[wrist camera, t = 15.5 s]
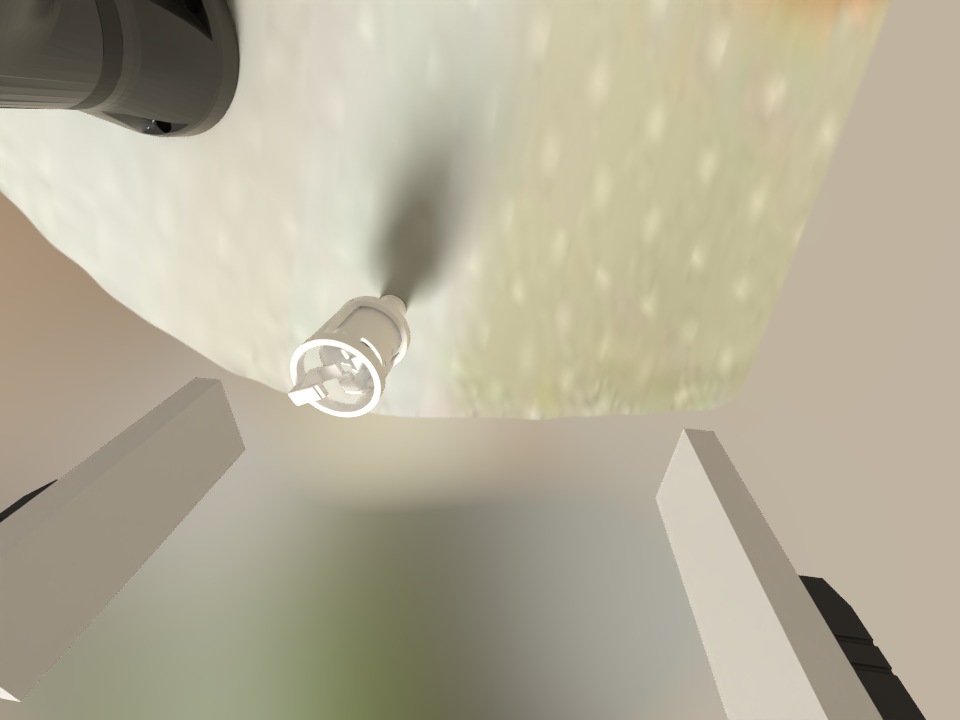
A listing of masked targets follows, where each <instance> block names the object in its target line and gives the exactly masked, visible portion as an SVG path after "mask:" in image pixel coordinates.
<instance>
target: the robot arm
mask: <svg viewBox="0 0 960 720" xmlns="http://www.w3.org/2000/svg"><path fill="white" fill-rule="evenodd" d="M237 76H238V50H237V42H236V36H235V31H234V27H233V23H232V19H231V16H230V12H229V9H228V6H227V4H226V1H225V0H0V108H24V109H71V110H79V111H82V112H84V113H87V114H90V115H93V116H95V117H98V118H101V119H103V120H106V121H109V122H112V123H114V124H117V125H120V126H122V127H125V128H128V129H131V130H133V131H136V132H139V133H143V134H147V135H152V136H159V137H184V136H193V135H197V134H200V133H203V132H205V131H207V130H209V129H210V128H212V127H213V126H214V125H216V124H217V123H218V122H219V121H220V120H221V118H222V117H223V116H224V115H225V113H226V111H227V110H228V108H229V106H230V104H231V102H232V99H233V96H234V93H235V89H236V84H237ZM244 451H245V446H244V444H243V441H242V438H241V436H240V433H239V430H238V427H237V425H236V422H235V419H234V416H233V413H232V411H231V408H230V405H229V403H228V400H227V397H226V394H225V391H224V389H223V386H222V383H221V380H216V379H206V378H197V377H196V378H194V379H193V380H192V381H190V382H189V383H188V384H186V385H185V386H184V387H182V388H181V389H180V390H178V391H177V392H176V393H174V394H173V395H172V396H170V397H169V398H167V399H166V400H165V401H163V402H162V403H161V404H159V405H158V406H157V407H155V408H154V409H153V410H151V411H150V412H149V413H147V414H146V415H145V416H143V417H142V418H141V419H139V420H138V421H137V422H135V423H134V424H132V425H131V426H130V427H129V428H127V429H126V430H125V431H123V432H122V433H120V434H119V435H118V436H117V437H115V438H114V439H112V440H111V441H110V442H108V443H107V444H106V445H104V446H103V447H102V448H100V449H99V450H98V451H96V452H95V453H93V454H92V455H91V456H89V457H88V458H87V459H86V460H84V461H83V462H81V463H80V464H79V465H77V466H76V467H75V468H73V469H72V470H71V471H69V472H68V473H67V474H65V475H64V476H63V477H61V478H60V479H59V480H55V481H53V482H51V483H49V484H47V485H45V486H43V487H41V488H39V489H37V490H35V491H33V492H31V493H29V494H28V495H25V496H24V497H22V498H21V499H20V500H18V501H17V502H15V503H14V504H13V505H11V506H10V507H9V508H7V509H6V510H4V511H3V512H2V513H0V698H3V699H8V700H14V701H20V702H21V701H22V700H23V699H24V697H25V696H26V695H27V694H28V693H29V692H30V690H31V689H32V688H33V687H34V686H35V685H36V684H37V683H38V682H39V681H40V679H41V678H42V677H43V676H44V675H45V674H46V673H47V672H48V670H49V669H50V668H51V667H52V666H53V665H54V664H55V663H56V662H57V660H58V659H59V658H60V657H61V656H62V655H63V654H64V652H65V651H66V650H67V649H68V648H69V647H70V646H71V645H72V644H73V642H74V641H75V640H76V639H77V638H78V637H79V636H80V634H81V633H82V632H83V631H84V630H85V629H86V628H87V627H88V626H89V624H90V623H91V622H92V621H93V620H94V619H95V618H96V617H97V615H98V614H99V613H100V612H101V611H102V610H103V609H104V608H105V606H106V605H107V604H108V603H109V602H110V601H111V600H112V599H113V597H114V596H115V595H116V594H117V593H118V592H119V591H120V590H121V589H122V587H123V586H124V585H125V584H126V583H127V582H128V581H129V580H130V578H131V577H132V576H133V575H134V574H135V573H136V572H137V571H138V569H139V568H140V567H141V566H142V565H143V564H144V563H145V562H146V561H147V559H148V558H149V557H150V556H151V555H152V554H153V553H154V552H155V550H156V549H157V548H158V547H159V546H160V545H161V544H162V542H163V541H164V540H165V539H166V538H167V537H168V536H169V535H170V534H171V532H172V531H173V530H174V529H175V528H176V527H177V526H178V525H179V524H180V522H181V521H182V520H183V519H184V518H185V517H186V516H187V515H188V513H189V512H190V511H191V510H192V509H193V508H194V506H196V504H197V503H198V502H199V501H200V500H201V499H202V497H204V495H205V494H206V493H207V492H208V491H209V490H210V489H211V487H212V486H213V485H214V484H215V483H216V482H217V481H218V480H219V479H220V478H221V476H222V475H223V474H224V473H225V472H226V471H227V470H228V469H229V467H230V466H231V465H232V464H233V463H234V462H235V461H236V460H237V458H238V457H239V456H240V455H241V454H242V453H243V452H244ZM656 501H657V504H658V507H659V510H660V513H661V516H662V519H663V522H664V525H665V528H666V531H667V535H668V538H669V541H670V544H671V547H672V549H673V553H674V556H675V559H676V562H677V565H678V568H679V571H680V574H681V577H682V580H683V584H684V587H685V590H686V593H687V596H688V599H689V602H690V605H691V608H692V611H693V614H694V617H695V620H696V623H697V626H698V629H699V632H700V635H701V639H702V642H703V645H704V648H705V651H706V654H707V657H708V660H709V663H710V666H711V669H712V672H713V675H714V678H715V681H716V684H717V687H718V690H719V694H720V697H721V699H722V703H723V706H724V709H725V712H726V715H727V718H728V720H926V719H925V718H924V716H923V715H922V713H921V711H920V710H919V708H918V707H917V705H916V704H915V702H914V701H913V700H912V698H911V696H910V695H909V693H908V692H907V690H906V689H905V687H904V686H903V684H902V683H901V681H900V680H899V678H898V677H897V676H896V675H894V674H893V673H892V671H891V669H892V668H891V666H890V665H889V663H888V662H887V660H886V659H885V657H884V655H883V654H882V653H881V651H880V649H879V648H878V647H877V646H874V644H873V639H872V637H871V636H870V634H869V633H868V631H867V630H866V628H865V627H864V625H863V624H862V622H861V621H860V619H859V618H858V616H857V615H856V613H855V612H854V610H853V609H852V607H851V606H850V605H849V604H848V603H847V602H846V601H845V600H844V599H843V598H842V597H841V596H840V595H839V594H838V593H837V592H836V591H835V590H834V589H833V588H832V587H831V586H830V585H829V584H828V583H827V582H826V581H825V580H824V579H823V578H815V577H808V576H800V575H798V574H797V573H796V571H795V569H794V568H793V566H792V564H791V562H790V561H789V559H788V557H787V556H786V554H785V552H784V550H783V549H782V547H781V546H780V544H779V542H778V540H777V539H776V537H775V535H774V534H773V532H772V530H771V528H770V527H769V525H768V523H767V522H766V520H765V518H764V516H763V515H762V513H761V511H760V510H759V508H758V506H757V505H756V503H755V501H754V500H753V498H752V496H751V494H750V493H749V491H748V489H747V488H746V486H745V484H744V482H743V481H742V479H741V478H740V476H739V474H738V472H737V471H736V469H735V467H734V465H733V464H732V462H731V461H730V459H729V457H728V455H727V454H726V452H725V450H724V449H723V447H722V445H721V444H720V442H719V440H718V438H717V437H716V435H715V433H714V432H713V431H704V430H695V429H694V430H693V429H683V431H682V434H681V436H680V439H679V441H678V443H677V446H676V449H675V451H674V453H673V456H672V458H671V461H670V464H669V466H668V468H667V471H666V473H665V476H664V479H663V481H662V483H661V486H660V489H659V491H658V493H657V496H656Z"/></svg>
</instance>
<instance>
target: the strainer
mask: <svg viewBox="0 0 960 720" xmlns="http://www.w3.org/2000/svg"><path fill="white" fill-rule="evenodd" d="M405 313H406V307H405V304H404V303H403V301H402V300H401V299H400V298H398V297H397V296H394V295H385V296H383V297H381V298H376V297H371V296H362V297H357V298H354V299H352V300H350V301H348V302H347V303H346V304H345V305H344V306H342V307H341V308H340V309H339V310H338V312H337V313H336V314H335V315H334V316H333V317H332V318H331V319H329V320H328V321H327V322H326V323H325V324H324V325H323V326H322V327H321V328H320V329H319V330H318V331H317V332H316V333H315V334H314V335H313V336H311V337H310V338H309V339H307V340H306V341H305V342H304V343H303V344H302V345H301V346H300V347H299V348H298V349H297V350H296V351H295V352H294V354H293V356H292V359H291V363H290V373H291V377H292V380H293V383H294V385H295V387H294V388H293V389H292V390H291V391H290V392H289V393H288V395H289V397H290V398H291V399H292V401H293V402H294V403H295V404H296V405H297V406H299V405H302V404H305V403H308V402H309V403H310V404H312V405H313V406H314V407H316V408H318V409H319V410H321V411H323V412H326V413H329V414H331V415H335V416H340V417H355V416H359V415H362V414H365V413H367V412H368V411H370V410H371V409H372V408H373V407H374V406H375V405H376V403H377V402H378V400H379V398H380V397H381V395H382V393H383V391H384V388H385V378H386V377H387V375H388V373H389V372H390V370H391V368H392V366H394V365H395V364H397V363H398V362H399V361H400V360H401V359H402V358H403V356H404V354H405V353H406V351H407V349H408V347H409V344H410V330H409V326H408V324H407V321H406V319H405V318H404V316H405ZM401 342H402V346H401V350H400V352H399V353H398V354H396V355H395V353H396V352H397V350H398V348H399V347H400V345H401ZM315 346H320V348H319V355H320V359H321V362H322V364H323V366H321V367H316V368H313V369H310V370H309V372H308V373H307V374H306V373H305V370H304V356H305V353H306V350H308V349H310V348H312V347H315ZM394 355H395V356H394ZM341 363H342V364H343V365H344V364H347V365H349V366H350V367H351V370H353V371H355V372H357V374H356V375H355V377H354V376H353V374H352V372H351V371H348V372H344V370H343V369H342V367H341V366H340V365H341ZM336 377H337V379H338V380H339V383H340V385H341V386H342V387H343V388H344V389H345V391H344V392H346V393H352V394H359V393H362V395H361V396H360V398H359V399H358V401H357V402H356V404H344V403H340V402H336V401H334V400H331V399H329V398H327V397H326V396H327V395H328V394H329V393H328V392H327V390H326V389H325V387H324V386H323V382H324V381H327V380H330V379H333V378H336Z"/></svg>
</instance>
